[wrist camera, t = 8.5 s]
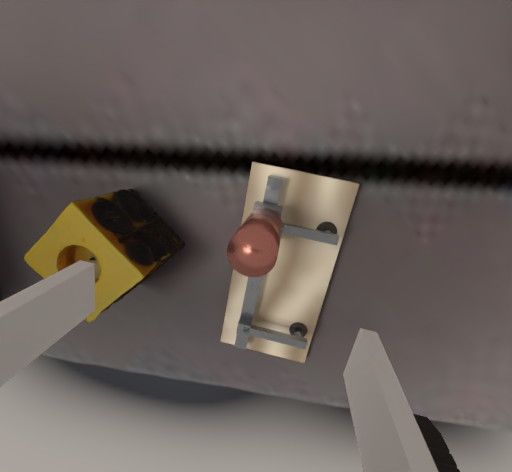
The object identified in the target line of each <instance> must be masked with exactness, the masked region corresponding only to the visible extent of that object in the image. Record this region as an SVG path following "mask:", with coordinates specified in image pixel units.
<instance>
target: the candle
mask: <svg viewBox="0 0 512 472" xmlns="http://www.w3.org/2000/svg"><path fill="white" fill-rule="evenodd" d="M184 246H185V244H184V242H182V241H180V239H179V237H178V236H177V235H176V234H174V232H173V230H172V229H171V228H170V227H169V226H168V225H167V224H166V223H165V222H164V220H163V219H162V218H160V217H159V216H158V215H157V213H156V212H155V211H153V209H152V208H151V207H149V206H148V205H147V204H146V203H145V202H144V201H143V200H142V199H141V198H140V196H139V195H138V193H137V192H136V191H134V190H133V189H128V190H124V189H123V190H120V191H117V192H112V193H109V194H106V195H102V196H97V197H95V198H94V199H91V198H88V199H85V200H79V201H74V202H71V203H70V204H69V205H68V206H67V207H66V209H65V210H64V211H63V212H62V213H61V214H60V216H59V217H58V218H57V219H56V221H55V222H54V223H53V225H52V226H51V227H50V228H49V229H48V231H47V232H46V233H45V234H44V235H43V236H42V237H41V238H40V239H39V240H38V241H37V242H36V243H35V245H34V246H33V247H32V248H31V249H30V250H29V251H28V252H27V253H26V255H25V256H24V260H25V261H26V262H27V263H28V264H29V265H30V266H31V267H32V268H33V269H34V270H35V271H36V272H37V273H38V274H40V275H41V276H42V277H43V278H44V279H45V278H47V277H49V276H51V275H53V274H55V273H57V272H59V271H61V270H63V269H65V268H66V267H68V266H70V265H72V264H74V263H76V262H78V261H80V260H81V261H85V262H89V263H93V264H95V311H94V312H93V313H91V314H90V315H89V316H88V317H86V318H85V319H86V321H87V322H93V321H94V320H95V319H96V318H97V317H98V315H99V314H100V313H102V312H103V311H104V310H106V309H108V308H109V307H110V306H111V305H112V304H113V303H115V302H117V301H119V300H120V299H122V298H123V297H124V296H125V295H126V294H128V293H129V292H130V291H131V290H133V289H134V288H135V287H136V286H137V285H139V284H141V283H142V282H143V281H144V280H145V279H146V278H148V277H149V276H150V275H152V274H153V273H154V272H155V271H156V270H157V269H158V268H159V267H161V266H162V265H163V264H164V263H165V262H167V260H168V259H170V258H171V257H172V256H173V255H174V254H175V253H177V252H179V251H180V250H181V249H182V248H183V247H184Z"/></svg>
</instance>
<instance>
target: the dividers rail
mask: <svg viewBox="0 0 512 472" xmlns="http://www.w3.org/2000/svg"><path fill="white" fill-rule="evenodd" d="M282 183H283V178H282V177H277V176H272V175H269V176H268V180H267V185H266V190H265V195H264V200H263V202H265V203H269V204H274V205H278V201H279V196H280V192H281V187H282ZM261 279H262V276H260V277H248V280H247V285H246V290H245V296H244V301H243V306H242V311H241V316H240V319H239V322H238V326H237V331H236V334H237V336H236V341H235V346H234V347H237V348H240V349H244V350H246V347H247V343H248V339H249V335H251V336H255V337H259V338H263V339H267V340H270V341H274V342H278V343H282V344H286V345H290V346H294V347H297V348H301V349H306V346H307V339H306V338H302V329H301V328H300V327H296V328H295V331H294V335H290V334H286V333H283V332H279V331H275V330H271V329H267V328H263V327H259V326H255V325H252V321H253V316H254V312H255V307H256V302H257V298H258V293H259V288H260V284H261Z"/></svg>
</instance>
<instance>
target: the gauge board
mask: <svg viewBox="0 0 512 472" xmlns="http://www.w3.org/2000/svg"><path fill="white" fill-rule="evenodd" d="M269 175H272V176H277V177H282V178H283V183H282V187H281V192H280V196H279V201H278V206H283V210H282V215H281V220H282V222H283V223H288V224H292V225H297V226H301V227H306V228H310V229H315V230H319V231H323V230H324V229H326V228H328V229H330V230H331V233H333V234H337V235H339V241H338V244H337V246H336V245H332V244H327V243H323V242H319V241H314V240H310V239H305V238H301V237H296V236H292V235H287V234H283V233H282V236H281V242H280V247H279V252H278V257H277V261H276V264H275V266H274V267H273V269H272V270H271V271H270V272H269V273H267V274H265V275H263V276H262V279H261V284H260V288H259V293H258V298H257V302H256V307H255V312H254V316H253V321H252V325H255V326H259V327H263V328H267V329H271V330H275V331H279V332H283V333H286V334H290V335H294V331H295V328H296V327H300V328H301V329H302V338H306V339H307V346H306V349H301V348H297V347H294V346H290V345H286V344H282V343H278V342H274V341H270V340H267V339H263V338H259V337H255V336H251V335H249V339H248V343H247V347H246V348H248V349H251V350H255V351H259V352H263V353H267V354H270V355H274V356H278V357H282V358H286V359H290V360H293V361H297V362H301V363H304V362H305V359H306V356H307V352H308V349H309V346H310V343H311V339H312V336H313V333H314V330H315V326H316V323H317V320H318V317H319V314H320V310H321V307H322V304H323V301H324V297H325V294H326V291H327V288H328V284H329V281H330V278H331V275H332V271H333V268H334V265H335V262H336V259H337V255H338V252H339V249H340V246H341V242H342V239H343V236H344V233H345V229H346V226H347V223H348V220H349V217H350V213H351V210H352V207H353V204H354V200H355V197H356V194H357V191H358V187H359V183H356V182H351V181H346V180H341V179H336V178H332V177H327V176H322V175H317V174H312V173H307V172H302V171H297V170H293V169H288V168H283V167H278V166H273V165H268V164H263V163H258V162H252V166H251V172H250V178H249V183H248V189H247V195H246V200H245V206H244V212H243V217H242V223H241V226H242V224H243V223H244V222H245V220H246V219H247V218H248V216H249V215H250V214H251V213H252V212H253V207H254V203H255V202H256V201H260V202H263V200H264V195H265V190H266V185H267V180H268V176H269ZM247 280H248V277H247V276H244V275H242V274H240V273H238V272H237V271H236V270H235V269H234V268H233V274H232V279H231V285H230V291H229V296H228V302H227V308H226V313H225V319H224V325H223V330H222V336H221V342H225V343H229V344H232V345H235V341H236V336H237V334H236V331H237V326H238V322H239V319H240V316H241V311H242V306H243V301H244V296H245V290H246V285H247Z"/></svg>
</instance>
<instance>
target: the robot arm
mask: <svg viewBox="0 0 512 472" xmlns="http://www.w3.org/2000/svg"><path fill="white" fill-rule="evenodd" d="M94 311H95V264H93V263H89V262H85V261H81V260H80V261H78V262H76V263H74V264H72V265H70V266H68V267H66V268H65V269H63V270H61V271H59V272H57V273H55V274H53V275H51V276H49V277H47V278H45V279H43V280H41V281H39V282H37V283H35V284H34V285H32V286H30V287H28V288H26V289H24V290H22V291H20V292H18V293H16V294H14V295H12V296H10V297H8V298H6V299H4V300H2V301H1V302H0V387H1V386H2V385H3V384H4V383H6V382H7V381H8V380H9V379H10V378H12V377H13V376H14V375H15V374H17V373H18V372H19V371H20V370H22V369H23V368H24V367H25V366H27V365H28V364H29V363H30V362H32V361H33V360H34V359H35V358H37V357H38V356H39V355H40V354H42V353H43V352H44V351H45V350H47V349H48V348H49V347H50V346H52V345H53V344H54V343H55V342H57V341H58V340H59V339H60V338H62V337H63V336H64V335H65V334H67V333H68V332H69V331H70V330H72V329H73V328H74V327H75V326H77V325H78V324H79V323H80V322H81V321H83V320H84V319H85V318H86V317H88V316H89V315H90V314H91V313H93V312H94ZM343 376H344V381H345V386H346V391H347V396H348V400H349V405H350V410H351V415H352V419H353V424H354V429H355V434H356V438H357V443H358V448H359V453H360V458H361V462H362V467H363V472H460V471H459V469H457V465H456V463H455V461H454V459H453V457H452V455H451V454H449V449H448V447H447V445H446V443H445V441H444V439H443V437H442V435H441V433H440V432H439V431H438V430H437V429H436V428H435V426H434V425H433V424H432V423H431V421H430V420H429V419H428V418H427V417H424V416H420V415H416V414H413V413H412V411H411V408H410V406H409V404H408V401H407V399H406V397H405V395H404V392H403V390H402V388H401V386H400V383H399V381H398V379H397V377H396V374H395V372H394V370H393V368H392V365H391V363H390V361H389V358H388V356H387V354H386V352H385V349H384V347H383V345H382V343H381V340H380V338H379V336H378V334H377V332H374V331H370V330H366V329H361V328H360V330H359V333H358V335H357V338H356V341H355V343H354V346H353V349H352V351H351V354H350V357H349V359H348V362H347V365H346V368H345V370H344V373H343Z"/></svg>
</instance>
